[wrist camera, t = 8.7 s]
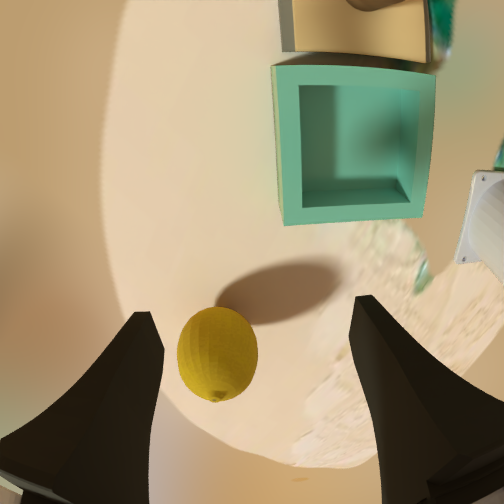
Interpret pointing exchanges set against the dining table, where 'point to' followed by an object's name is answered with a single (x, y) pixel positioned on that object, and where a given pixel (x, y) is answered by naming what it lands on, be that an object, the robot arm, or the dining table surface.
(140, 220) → the dining table surface
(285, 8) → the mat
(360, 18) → the lid
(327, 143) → the dish
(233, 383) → the lemon
